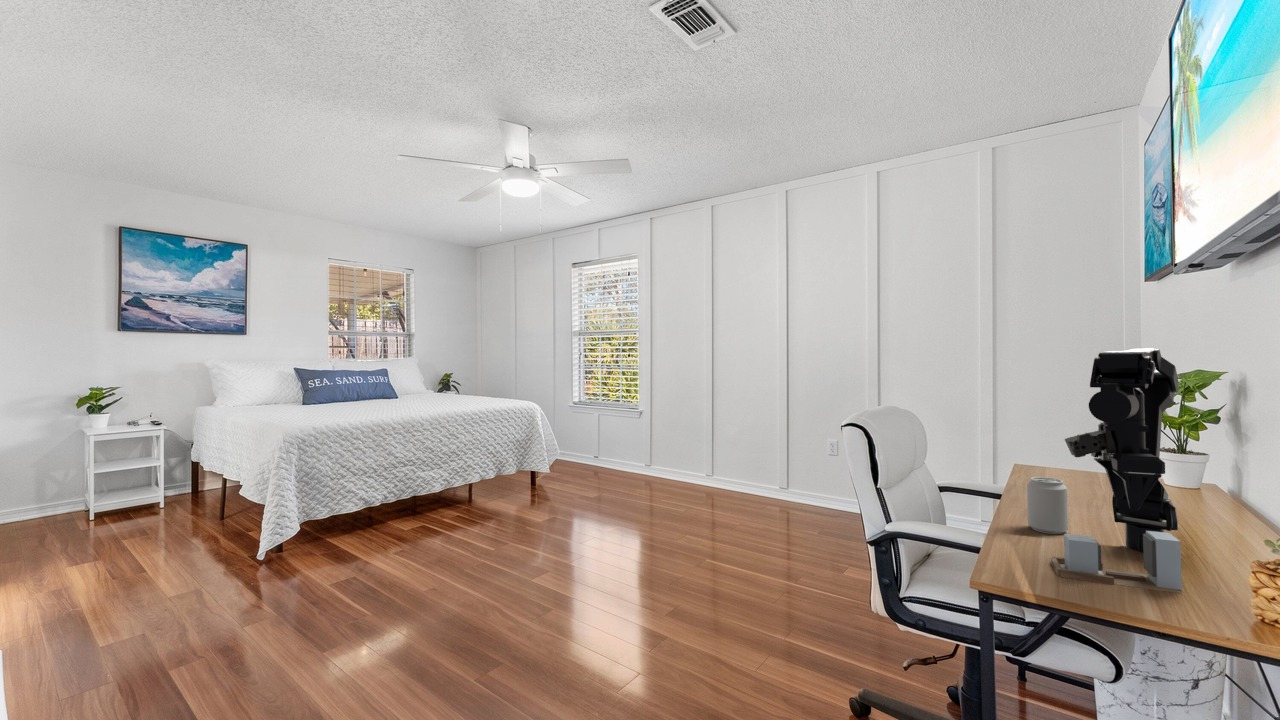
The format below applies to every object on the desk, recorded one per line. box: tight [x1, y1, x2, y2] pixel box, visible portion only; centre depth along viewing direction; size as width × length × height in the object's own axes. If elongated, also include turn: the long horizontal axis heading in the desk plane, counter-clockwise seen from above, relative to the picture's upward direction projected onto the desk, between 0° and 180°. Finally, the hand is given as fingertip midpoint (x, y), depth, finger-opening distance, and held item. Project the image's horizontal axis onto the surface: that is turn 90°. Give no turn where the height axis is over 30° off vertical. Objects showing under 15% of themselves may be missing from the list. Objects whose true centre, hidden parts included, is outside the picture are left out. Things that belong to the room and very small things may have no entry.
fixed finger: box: [1142, 531, 1183, 591], centre depth 92 cm, size 5×4×8 cm
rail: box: [1049, 556, 1182, 594], centre depth 95 cm, size 8×16×2 cm, turn 61°
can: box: [1026, 476, 1069, 535], centre depth 126 cm, size 8×8×12 cm
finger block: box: [1063, 533, 1102, 575], centre depth 97 cm, size 4×4×6 cm
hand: (1125, 503), depth 99 cm, fingers open, 9 cm apart
